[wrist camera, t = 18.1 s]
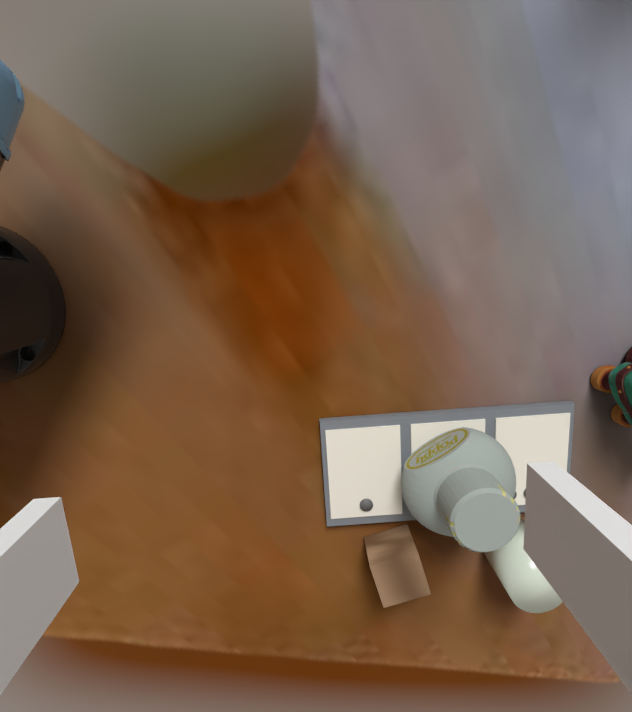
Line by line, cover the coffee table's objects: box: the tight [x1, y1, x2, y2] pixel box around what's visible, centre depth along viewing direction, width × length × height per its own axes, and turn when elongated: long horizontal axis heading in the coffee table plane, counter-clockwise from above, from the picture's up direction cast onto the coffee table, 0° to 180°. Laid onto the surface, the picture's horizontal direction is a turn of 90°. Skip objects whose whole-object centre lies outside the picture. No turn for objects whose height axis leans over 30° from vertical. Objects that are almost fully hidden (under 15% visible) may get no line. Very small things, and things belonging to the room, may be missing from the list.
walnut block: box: [364, 524, 431, 608], centre depth 47 cm, size 5×5×5 cm
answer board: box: [319, 401, 575, 527], centre depth 46 cm, size 26×12×1 cm, turn 94°
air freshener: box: [401, 427, 520, 552], centre depth 41 cm, size 11×8×10 cm
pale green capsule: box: [483, 518, 563, 613], centre depth 46 cm, size 6×6×7 cm
